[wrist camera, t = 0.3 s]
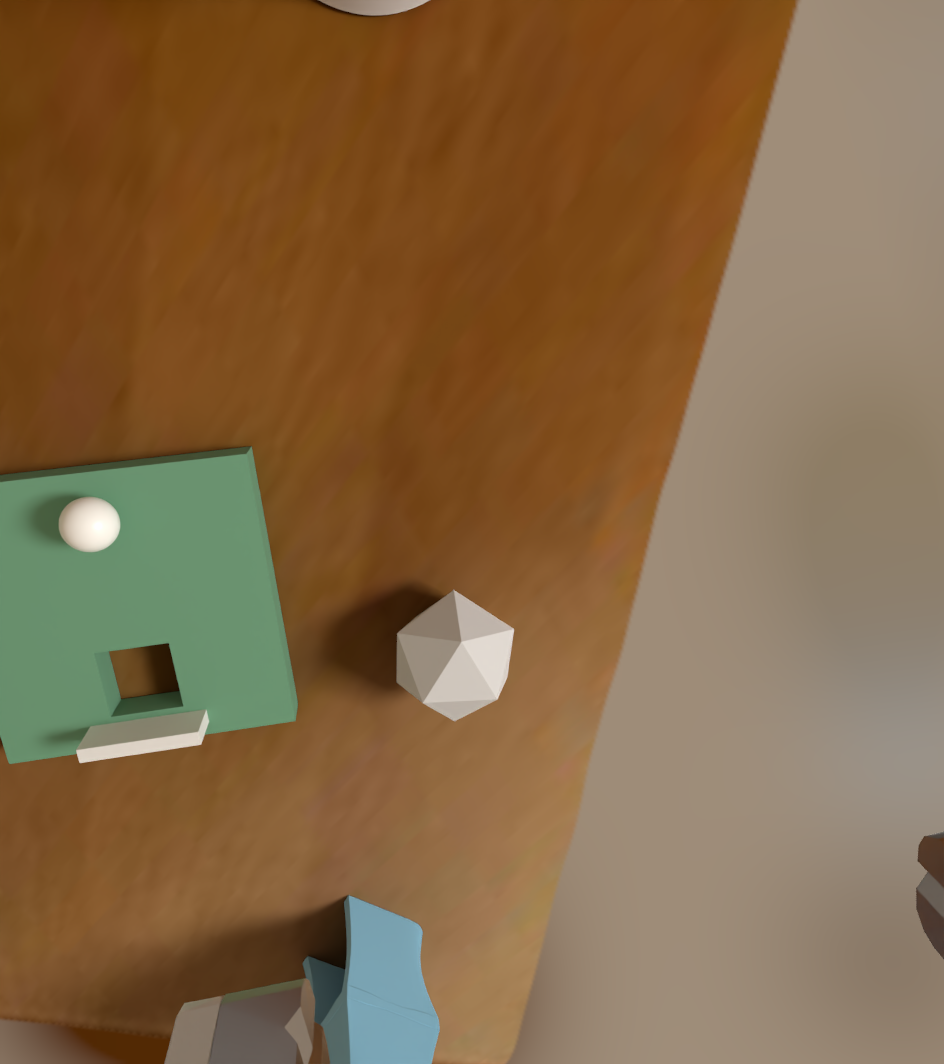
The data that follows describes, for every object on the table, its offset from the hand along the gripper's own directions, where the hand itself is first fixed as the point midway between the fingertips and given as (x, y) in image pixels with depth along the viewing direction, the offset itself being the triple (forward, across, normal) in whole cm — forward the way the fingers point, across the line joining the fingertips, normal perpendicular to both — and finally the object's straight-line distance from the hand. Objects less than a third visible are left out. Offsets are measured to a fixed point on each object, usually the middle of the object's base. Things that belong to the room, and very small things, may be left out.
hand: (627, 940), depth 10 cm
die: (+47, 0, +18) cm, 50 cm away
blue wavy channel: (+47, +12, +45) cm, 66 cm away
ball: (+42, +21, +3) cm, 47 cm away
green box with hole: (+46, +22, +10) cm, 52 cm away
